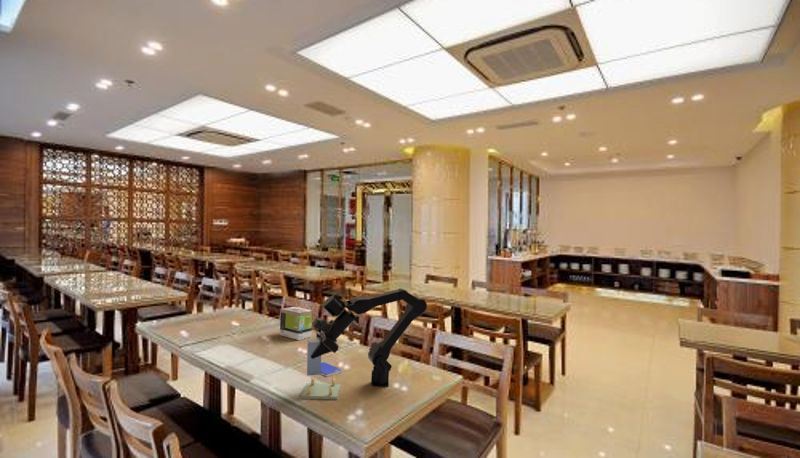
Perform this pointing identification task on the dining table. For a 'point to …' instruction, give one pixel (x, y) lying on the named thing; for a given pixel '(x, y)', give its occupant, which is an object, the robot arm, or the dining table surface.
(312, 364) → the block
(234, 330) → the dining table surface
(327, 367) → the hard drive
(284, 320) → the tea box
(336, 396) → the chassis
